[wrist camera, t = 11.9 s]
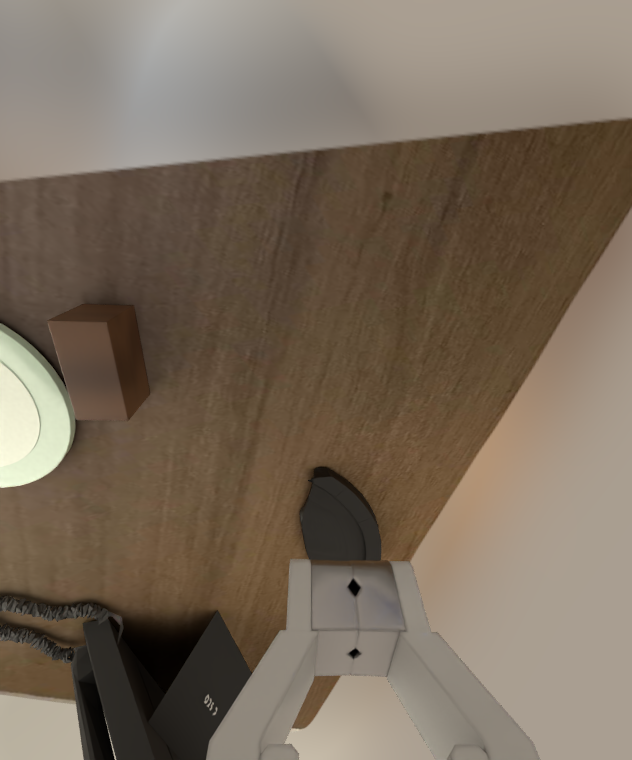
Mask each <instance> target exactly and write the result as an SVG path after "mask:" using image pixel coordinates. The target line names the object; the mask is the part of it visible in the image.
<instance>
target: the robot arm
mask: <svg viewBox="0 0 632 760" xmlns="http://www.w3.org/2000/svg"><path fill="white" fill-rule="evenodd" d="M335 675H360V676H385V677H387V680H388V682H389V683H390V685H391V687H392V688H393V690H394V692H395V693H396V695H397V697H398V698H399V700H400V701H401V703H402V705H403V706H404V708H405V710H406V711H407V713H408V715H409V716H410V718H411V720H412V721H413V723H414V724H415V726H416V728H417V730H418V731H419V733H420V735H421V736H422V738H423V740H424V741H425V743H426V744H427V746H428V748H429V749H430V751H431V753H432V754H433V756H434V758H435V759H436V760H540V758H539V756H538V753H537V751H536V748H535V746H534V744H533V742H532V740H531V739H530V738H529V737H528V736H527V735H526V734H525V732H524V731H523V730H522V729H521V728H520V727H519V725H518V724H517V723H516V722H515V721H514V720H513V719H512V717H511V716H510V715H509V714H508V713H507V712H506V711H505V709H504V708H503V707H502V706H501V705H500V704H499V703H498V701H497V700H496V699H495V698H494V697H493V696H492V694H491V693H490V692H489V691H488V690H487V689H486V688H485V687H484V685H483V684H482V683H481V682H480V681H479V680H478V678H477V677H476V676H475V675H474V674H473V673H472V671H471V670H470V669H469V668H468V667H467V666H466V665H465V663H464V662H463V661H462V660H461V659H460V658H459V657H458V655H457V654H456V653H455V652H454V651H453V650H452V648H451V647H450V646H449V645H448V644H447V643H446V642H445V640H444V639H443V638H442V637H441V636H440V635H439V633H437V632H431V630H430V626H429V623H428V619H427V616H426V612H425V609H424V605H423V601H422V598H421V594H420V591H419V588H418V584H417V580H416V577H415V573H414V570H413V567H412V565H411V563H410V562H408V561H373V560H350V561H334V560H310V559H291V560H290V567H289V586H288V606H287V626H286V630H280V631H279V633H278V634H277V636H276V637H275V639H274V640H273V642H272V643H271V645H270V647H269V648H268V650H267V651H266V653H265V654H264V656H263V658H262V659H261V661H260V662H259V664H258V665H257V667H256V669H255V670H254V672H253V673H252V675H251V676H250V678H249V680H248V681H247V683H246V684H245V686H244V687H243V689H242V691H241V692H240V694H239V695H238V697H237V698H236V700H235V702H234V703H233V705H232V706H231V708H230V709H229V711H228V713H227V714H226V716H225V717H224V719H223V720H222V722H221V724H220V725H219V727H218V728H217V730H216V731H215V733H214V734H213V736H212V738H211V739H210V741H209V746H208V751H207V757H206V760H299V753H298V752H297V751H296V749H295V748H294V747H293V746H292V744H284V743H285V741H286V739H287V736H288V734H289V732H290V730H291V728H292V726H293V723H294V721H295V719H296V717H297V715H298V713H299V710H300V708H301V706H302V704H303V702H304V700H305V697H306V695H307V693H308V691H309V689H310V687H311V684H312V682H313V680H314V676H335Z"/></svg>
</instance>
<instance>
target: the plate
mask: <svg viewBox="0 0 632 760" xmlns="http://www.w3.org/2000/svg"><path fill="white" fill-rule="evenodd" d="M74 434H75V414H74V410H73V407H72V404H71V400H70V397H69V394H68V392H67V390H66V388H65V386H64V384H63V382H62V380H61V379H60V377H59V376H58V374H57V373H56V371H55V370H54V368H53V367H52V366H51V365H50V364H49V362H48V361H47V360H46V359H45V358H44V357H43V356H42V355H41V354H40V353H39V352H38V351H37V350H36V349H35V348H34V347H33V346H32V345H31V344H30V343H28V342H27V341H26V340H25V339H23V338H22V337H21V336H20V335H18V334H17V333H15V332H14V331H12V330H11V329H9V328H8V327H6V326H5V325H3V324H1V323H0V487H13V486H19V485H23V484H27V483H31V482H33V481H35V480H38V479H40V478H42V477H44V476H45V475H47V474H49V473H50V472H51V471H52V470H53V469H55V468H56V467H57V466H58V465H59V464H60V463H61V461H62V460H63V459H64V458H65V456H66V455H67V453H68V452H69V450H70V448H71V446H72V442H73V439H74Z"/></svg>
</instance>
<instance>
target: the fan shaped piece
mask: <svg viewBox="0 0 632 760" xmlns="http://www.w3.org/2000/svg"><path fill="white" fill-rule="evenodd" d="M308 481H310V482H312V487H311V491H310V494H309V496H308V498H307V500H306V502H305V504H304V506H303V507H302V508H301V510H300V521H301V525H302V532H303V537H304V542H305V548H306V551H307V554H308V557H309V559H310V560H334V561H350V560H373V561H380V560H381V539H380V534H379V529H378V524H377V521H376V518H375V515H374V513H373V510H372V509H371V507H370V505H369V504H368V502H367V501H366V499H365V498H364V496H363V495H362V494H361V493H360V492H359V491H358V490H357V489H356V488H355V487H354V486H353V485H352V484H351V483H350V482H348V481H347V480H346V479H344V478H343V477H341V476H340V475H338V474H337V473H335V472H334V471H332V470H330V469H329V468H324V467H319V468H315V469H314V477H313V478H312V479H311V480H308Z"/></svg>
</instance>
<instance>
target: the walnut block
mask: <svg viewBox="0 0 632 760" xmlns="http://www.w3.org/2000/svg"><path fill="white" fill-rule="evenodd" d="M47 322H48V326H49V329H50V332H51V336H52V339H53V343H54V346H55V349H56V353H57V356H58V360H59V363H60V366H61V370H62V373H63V376H64V380H65V383H66V387H67V390H68V393H69V397H70V400H71V404H72V407H73V410H74V414H75V417H76V420H110V421H128V420H129V419H130V418H131V417H132V416H133V414H134V413H135V412H136V411H137V409H138V408H139V407H140V406H141V404H142V403H143V402H144V401H145V400H146V398H147V397H148V396H149V395H150V390H149V385H148V380H147V374H146V369H145V363H144V358H143V353H142V347H141V342H140V336H139V331H138V326H137V320H136V315H135V309H134V306H133V305H98V304H82V305H80V306H78V307H76V308H73V309H71V310H69V311H67V312H65V313H63V314H60V315H58V316H56V317H54V318H52V319H49V320H47Z"/></svg>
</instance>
